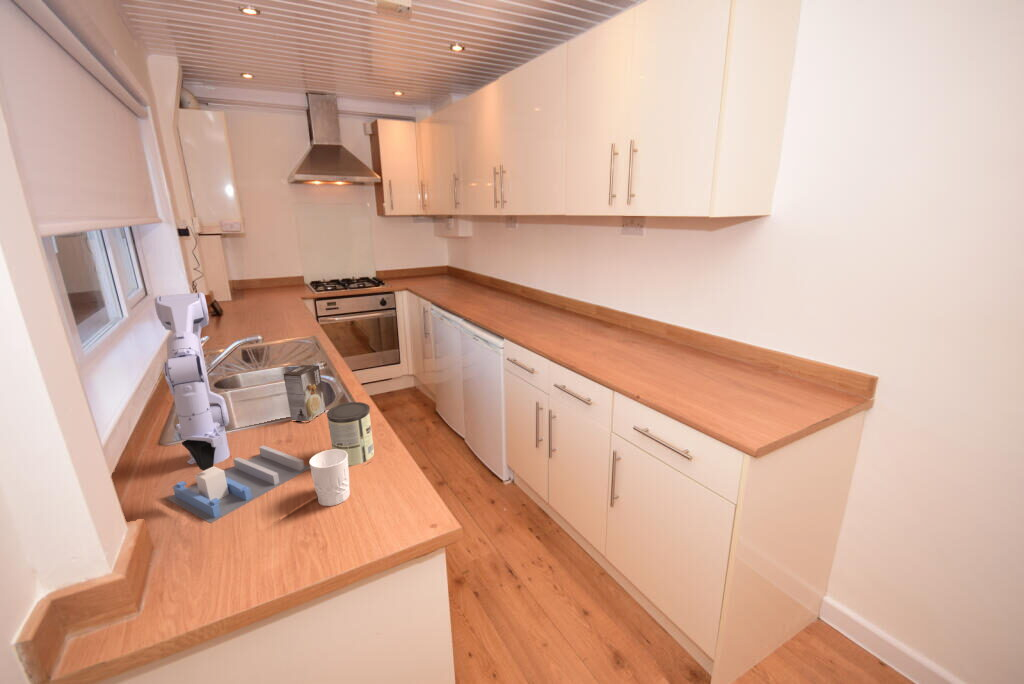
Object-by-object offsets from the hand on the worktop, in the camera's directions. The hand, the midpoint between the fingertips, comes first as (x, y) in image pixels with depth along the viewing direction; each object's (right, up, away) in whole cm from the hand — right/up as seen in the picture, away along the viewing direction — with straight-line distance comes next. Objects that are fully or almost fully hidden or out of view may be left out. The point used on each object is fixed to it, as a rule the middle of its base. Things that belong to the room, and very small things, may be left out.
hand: (206, 467), depth 98 cm
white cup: (+27, -8, +3) cm, 28 cm away
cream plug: (0, -7, +2) cm, 7 cm away
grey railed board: (+3, -6, +8) cm, 11 cm away
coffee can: (+26, -3, +19) cm, 32 cm away
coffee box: (+2, +4, +45) cm, 45 cm away
